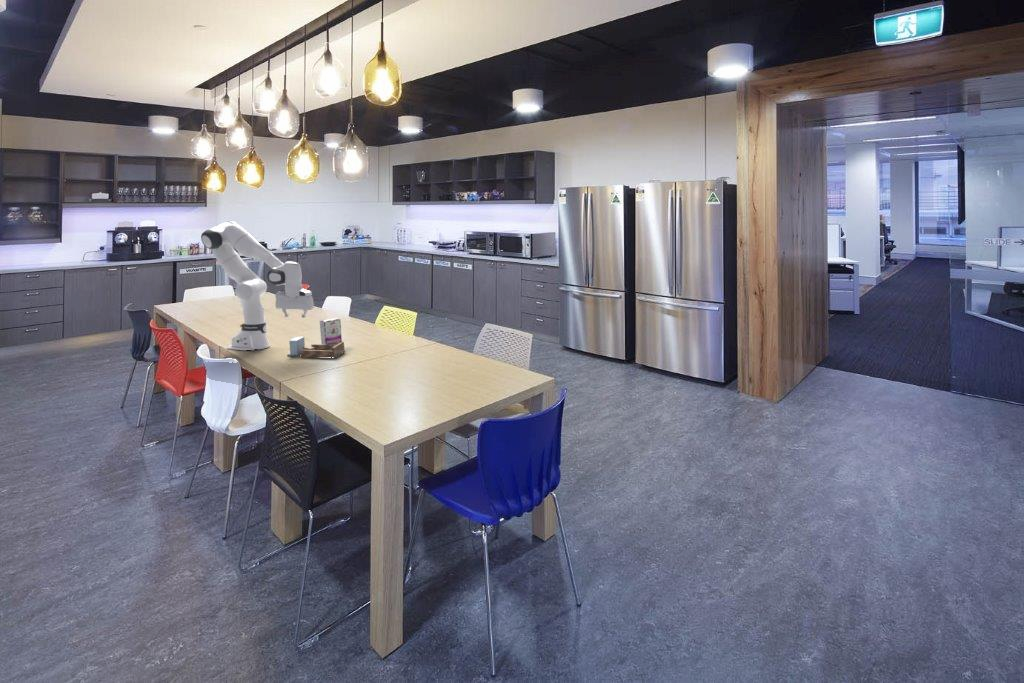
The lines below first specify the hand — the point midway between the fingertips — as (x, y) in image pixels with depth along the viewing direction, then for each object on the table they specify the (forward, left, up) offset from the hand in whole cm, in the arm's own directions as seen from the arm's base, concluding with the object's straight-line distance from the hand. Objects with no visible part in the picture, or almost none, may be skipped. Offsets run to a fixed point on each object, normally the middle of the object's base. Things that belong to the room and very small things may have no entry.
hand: (295, 317), depth 318 cm
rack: (+14, 0, -21) cm, 25 cm away
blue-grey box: (0, 0, -20) cm, 20 cm away
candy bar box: (+12, +19, -21) cm, 30 cm away
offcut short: (+7, 0, -19) cm, 20 cm away
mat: (0, 0, -21) cm, 21 cm away
